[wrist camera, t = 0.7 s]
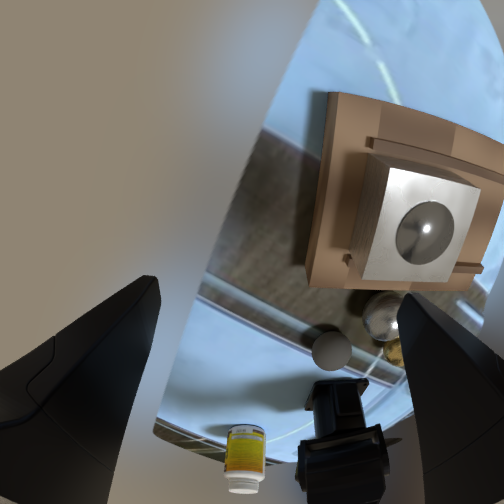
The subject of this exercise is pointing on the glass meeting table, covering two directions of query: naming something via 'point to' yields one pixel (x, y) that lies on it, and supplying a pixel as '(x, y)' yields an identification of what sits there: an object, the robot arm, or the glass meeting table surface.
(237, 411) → the glass meeting table surface
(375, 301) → the steel ball
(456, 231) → the grey sliding block
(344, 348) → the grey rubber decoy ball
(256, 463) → the supplement bottle
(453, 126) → the housing plate
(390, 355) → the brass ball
